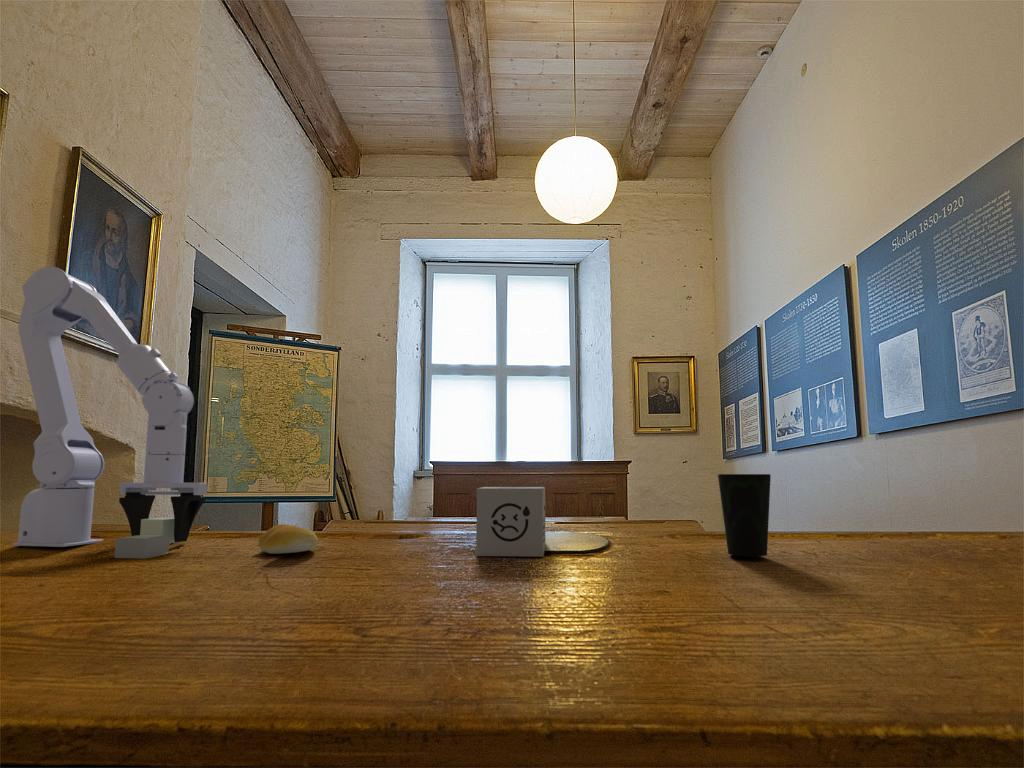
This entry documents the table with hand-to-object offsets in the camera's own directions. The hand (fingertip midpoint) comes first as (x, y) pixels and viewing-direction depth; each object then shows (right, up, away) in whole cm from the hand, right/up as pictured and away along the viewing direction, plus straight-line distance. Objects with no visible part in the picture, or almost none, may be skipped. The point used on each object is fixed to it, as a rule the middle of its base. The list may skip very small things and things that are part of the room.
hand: (159, 541), depth 108 cm
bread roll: (+26, -1, -6) cm, 26 cm away
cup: (+92, -1, -5) cm, 92 cm away
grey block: (+1, -1, -8) cm, 8 cm away
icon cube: (+56, -2, -2) cm, 56 cm away
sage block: (0, -2, 0) cm, 2 cm away
